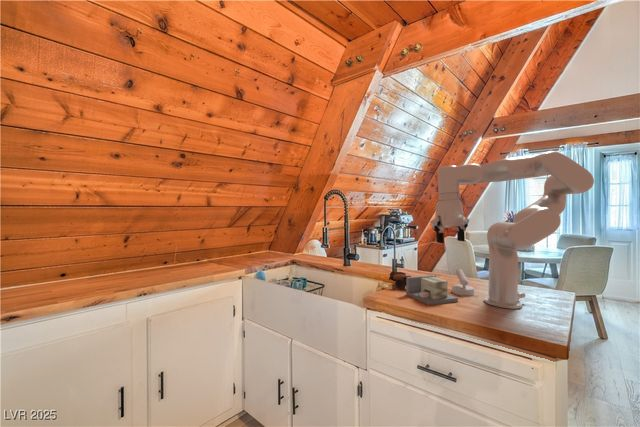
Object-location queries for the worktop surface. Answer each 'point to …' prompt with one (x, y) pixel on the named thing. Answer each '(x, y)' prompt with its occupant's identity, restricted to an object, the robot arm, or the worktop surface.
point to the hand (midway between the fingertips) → (450, 241)
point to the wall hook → (462, 288)
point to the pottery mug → (398, 280)
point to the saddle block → (434, 287)
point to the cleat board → (432, 301)
